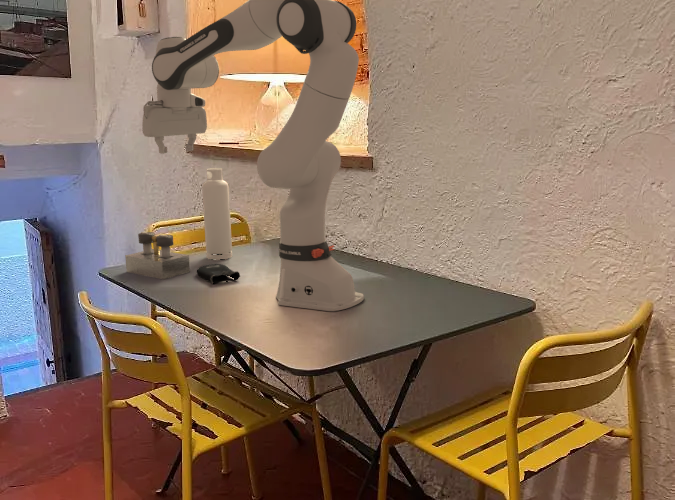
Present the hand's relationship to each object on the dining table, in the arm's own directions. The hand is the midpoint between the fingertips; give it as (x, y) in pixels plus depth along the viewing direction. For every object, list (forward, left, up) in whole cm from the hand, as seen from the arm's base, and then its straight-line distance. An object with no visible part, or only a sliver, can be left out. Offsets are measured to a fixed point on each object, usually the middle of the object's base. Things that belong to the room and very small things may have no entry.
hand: (176, 152), depth 189 cm
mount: (+10, +1, -35) cm, 37 cm away
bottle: (+8, -22, -35) cm, 42 cm away
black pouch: (-9, -4, -36) cm, 37 cm away
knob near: (+6, +1, -31) cm, 32 cm away
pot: (+10, +1, -30) cm, 32 cm away
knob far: (+14, +1, -31) cm, 34 cm away
